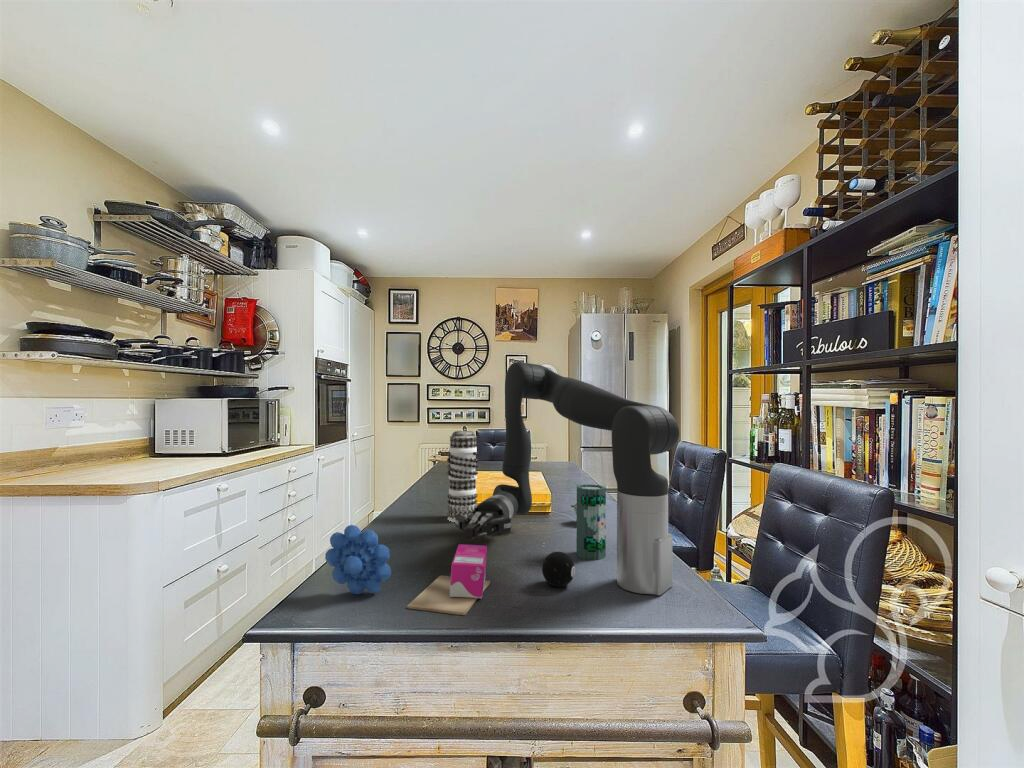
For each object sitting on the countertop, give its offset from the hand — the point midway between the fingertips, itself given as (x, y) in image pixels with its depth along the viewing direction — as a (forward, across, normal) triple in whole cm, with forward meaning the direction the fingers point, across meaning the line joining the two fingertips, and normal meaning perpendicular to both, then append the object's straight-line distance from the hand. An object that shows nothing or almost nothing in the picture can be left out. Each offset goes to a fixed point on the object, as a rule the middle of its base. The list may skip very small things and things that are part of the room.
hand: (469, 533), depth 94 cm
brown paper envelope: (+9, 0, +8) cm, 12 cm away
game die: (-46, +19, +8) cm, 50 cm away
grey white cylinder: (-41, -16, +8) cm, 45 cm away
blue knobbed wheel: (+14, -16, +8) cm, 23 cm away
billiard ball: (0, +18, +8) cm, 19 cm away
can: (-19, +22, +8) cm, 30 cm away
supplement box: (0, +1, +5) cm, 5 cm away
